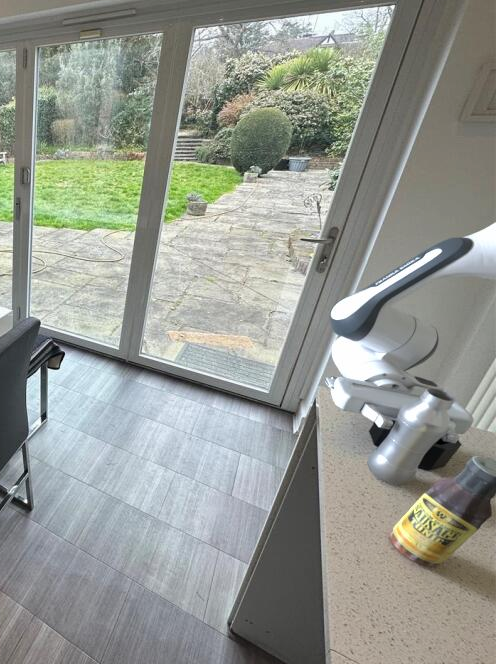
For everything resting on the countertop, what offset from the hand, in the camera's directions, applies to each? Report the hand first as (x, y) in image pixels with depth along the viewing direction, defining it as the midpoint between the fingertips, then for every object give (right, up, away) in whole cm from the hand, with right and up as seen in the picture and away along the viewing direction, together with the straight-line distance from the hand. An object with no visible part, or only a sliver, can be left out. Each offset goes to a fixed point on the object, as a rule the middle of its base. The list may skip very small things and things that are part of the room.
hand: (418, 432), depth 73 cm
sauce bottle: (-8, -17, -7) cm, 20 cm away
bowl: (+10, -7, +12) cm, 18 cm away
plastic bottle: (0, -10, +6) cm, 12 cm away
